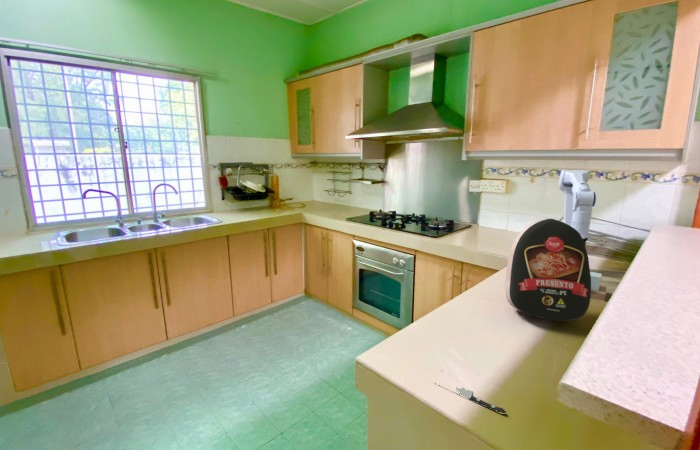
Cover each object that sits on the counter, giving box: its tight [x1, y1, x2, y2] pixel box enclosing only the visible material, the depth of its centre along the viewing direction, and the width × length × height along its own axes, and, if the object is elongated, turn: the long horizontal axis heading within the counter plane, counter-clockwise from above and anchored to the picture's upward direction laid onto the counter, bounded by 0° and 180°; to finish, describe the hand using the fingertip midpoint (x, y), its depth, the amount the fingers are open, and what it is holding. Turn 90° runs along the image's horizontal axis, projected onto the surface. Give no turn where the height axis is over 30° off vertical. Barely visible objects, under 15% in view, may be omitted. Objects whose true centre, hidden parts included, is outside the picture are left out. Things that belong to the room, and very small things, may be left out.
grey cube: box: [590, 271, 603, 291], centre depth 114 cm, size 5×5×5 cm
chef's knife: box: [456, 387, 507, 414], centre depth 67 cm, size 19×1×3 cm
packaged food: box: [504, 218, 591, 322], centre depth 97 cm, size 22×20×30 cm
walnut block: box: [590, 284, 607, 302], centre depth 115 cm, size 9×9×3 cm
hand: (575, 256), depth 123 cm, fingers open, 7 cm apart
